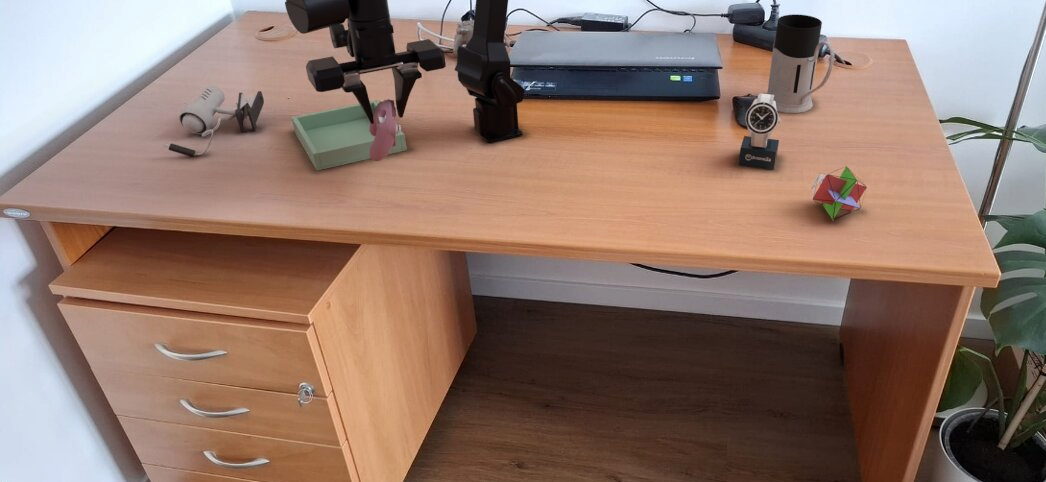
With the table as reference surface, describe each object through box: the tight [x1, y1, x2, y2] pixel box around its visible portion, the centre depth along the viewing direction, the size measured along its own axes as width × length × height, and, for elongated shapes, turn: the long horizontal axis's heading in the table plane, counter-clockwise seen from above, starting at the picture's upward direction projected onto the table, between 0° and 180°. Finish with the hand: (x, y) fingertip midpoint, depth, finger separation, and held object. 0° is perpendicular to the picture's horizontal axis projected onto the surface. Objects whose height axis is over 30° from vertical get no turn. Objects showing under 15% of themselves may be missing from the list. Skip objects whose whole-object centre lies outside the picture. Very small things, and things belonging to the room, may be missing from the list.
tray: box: [291, 100, 408, 172], centre depth 136 cm, size 15×16×3 cm
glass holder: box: [766, 14, 835, 114], centre depth 143 cm, size 9×14×15 cm, turn 25°
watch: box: [738, 93, 782, 171], centre depth 127 cm, size 6×8×11 cm
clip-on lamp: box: [163, 85, 265, 158], centre depth 137 cm, size 12×6×18 cm
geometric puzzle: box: [811, 165, 868, 221], centre depth 116 cm, size 7×7×8 cm
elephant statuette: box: [452, 19, 511, 58], centre depth 167 cm, size 9×12×8 cm
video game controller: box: [369, 98, 402, 162], centre depth 120 cm, size 10×5×7 cm, turn 13°
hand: (386, 119), depth 122 cm, fingers closed on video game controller, 4 cm apart
